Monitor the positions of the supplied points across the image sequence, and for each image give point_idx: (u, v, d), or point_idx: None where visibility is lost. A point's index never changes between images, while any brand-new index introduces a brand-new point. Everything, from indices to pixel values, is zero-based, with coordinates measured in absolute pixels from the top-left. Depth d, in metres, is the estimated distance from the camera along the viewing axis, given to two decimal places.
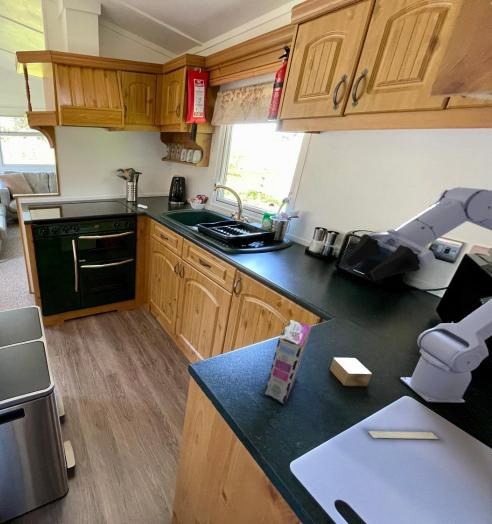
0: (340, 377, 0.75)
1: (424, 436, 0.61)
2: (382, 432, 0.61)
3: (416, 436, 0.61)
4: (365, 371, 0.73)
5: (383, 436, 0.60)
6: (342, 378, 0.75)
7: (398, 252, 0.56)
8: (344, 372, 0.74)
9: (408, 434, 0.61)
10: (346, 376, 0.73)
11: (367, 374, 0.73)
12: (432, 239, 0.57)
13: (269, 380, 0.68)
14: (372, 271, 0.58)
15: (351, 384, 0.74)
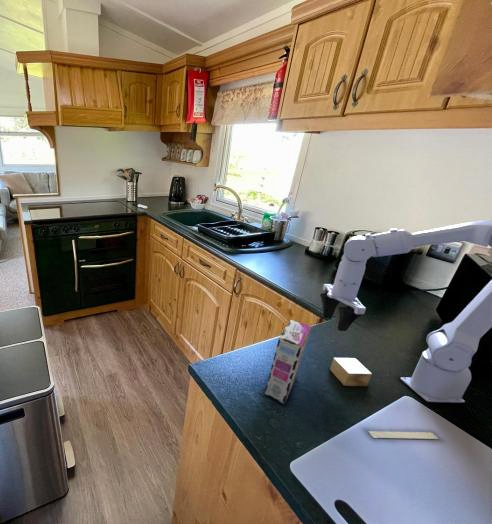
0: (340, 377, 0.75)
1: (424, 436, 0.61)
2: (382, 432, 0.61)
3: (416, 436, 0.61)
4: (365, 371, 0.73)
5: (383, 436, 0.60)
6: (342, 378, 0.75)
7: (341, 313, 0.77)
8: (344, 372, 0.74)
9: (408, 434, 0.61)
10: (346, 376, 0.73)
11: (367, 374, 0.73)
12: (357, 286, 0.76)
13: (269, 380, 0.68)
14: (338, 328, 0.79)
15: (351, 384, 0.74)
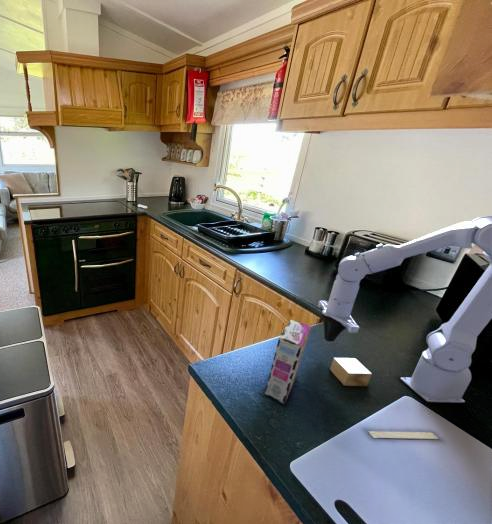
0: (340, 377, 0.75)
1: (424, 436, 0.61)
2: (382, 432, 0.61)
3: (416, 436, 0.61)
4: (365, 371, 0.73)
5: (383, 436, 0.60)
6: (342, 378, 0.75)
7: (328, 325, 0.82)
8: (344, 372, 0.74)
9: (408, 434, 0.61)
10: (346, 376, 0.73)
11: (367, 374, 0.73)
12: (351, 305, 0.78)
13: (269, 380, 0.68)
14: (326, 339, 0.84)
15: (351, 384, 0.74)
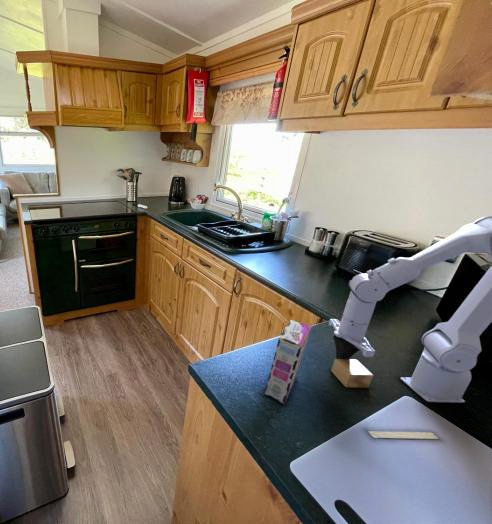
0: (341, 378, 0.75)
1: (424, 436, 0.61)
2: (382, 432, 0.61)
3: (416, 436, 0.61)
4: (367, 373, 0.73)
5: (383, 436, 0.60)
6: (343, 379, 0.74)
7: (341, 346, 0.77)
8: (345, 374, 0.74)
9: (408, 434, 0.61)
10: (347, 377, 0.73)
11: (368, 375, 0.72)
12: (366, 326, 0.73)
13: (269, 380, 0.68)
14: None
15: (352, 386, 0.73)
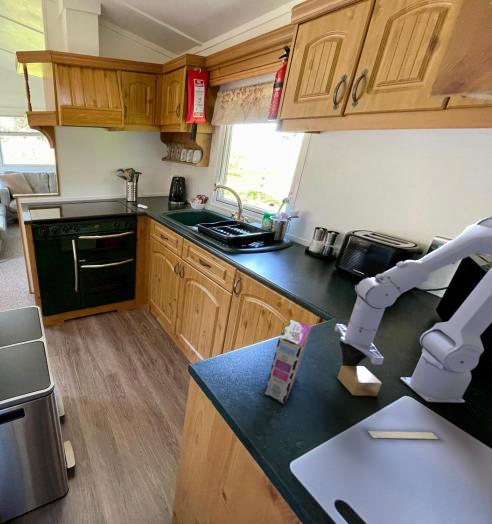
0: (348, 386, 0.72)
1: (424, 436, 0.61)
2: (382, 432, 0.61)
3: (416, 436, 0.61)
4: (375, 381, 0.70)
5: (383, 436, 0.60)
6: (350, 387, 0.72)
7: (348, 353, 0.74)
8: (353, 382, 0.71)
9: (408, 434, 0.61)
10: (355, 385, 0.70)
11: (377, 383, 0.70)
12: (374, 332, 0.70)
13: (269, 380, 0.68)
14: None
15: (360, 394, 0.71)
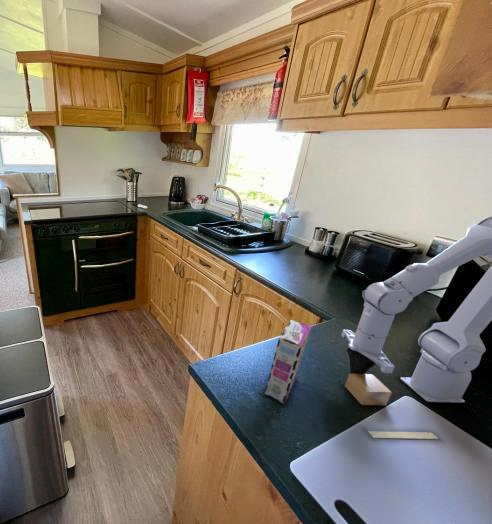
0: (357, 395, 0.70)
1: (424, 436, 0.61)
2: (382, 432, 0.61)
3: (416, 436, 0.61)
4: (385, 390, 0.68)
5: (383, 436, 0.60)
6: (359, 396, 0.69)
7: (356, 360, 0.71)
8: (361, 391, 0.68)
9: (408, 434, 0.61)
10: (363, 394, 0.68)
11: (386, 392, 0.67)
12: (383, 339, 0.67)
13: (269, 380, 0.68)
14: None
15: (369, 403, 0.68)
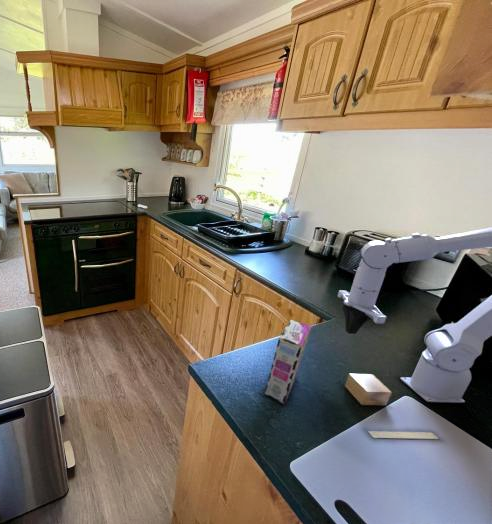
0: (357, 395, 0.70)
1: (424, 436, 0.61)
2: (382, 432, 0.61)
3: (416, 436, 0.61)
4: (385, 390, 0.68)
5: (383, 436, 0.60)
6: (359, 396, 0.69)
7: (351, 315, 0.76)
8: (361, 391, 0.68)
9: (408, 434, 0.61)
10: (364, 394, 0.68)
11: (386, 392, 0.67)
12: (376, 293, 0.72)
13: (269, 380, 0.68)
14: (347, 331, 0.79)
15: (369, 403, 0.68)
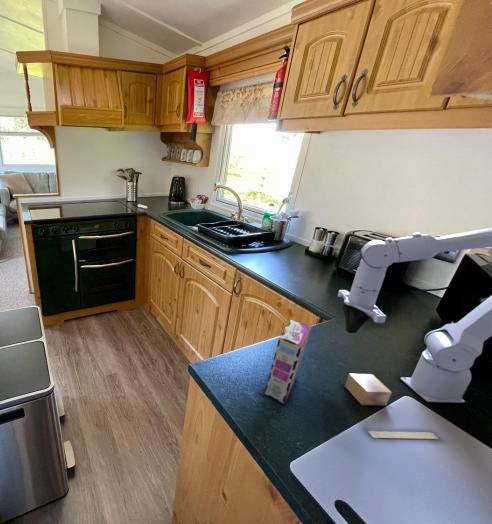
0: (357, 395, 0.70)
1: (424, 436, 0.61)
2: (382, 432, 0.61)
3: (416, 436, 0.61)
4: (385, 390, 0.68)
5: (383, 436, 0.60)
6: (359, 396, 0.69)
7: (351, 315, 0.76)
8: (361, 391, 0.68)
9: (408, 434, 0.61)
10: (364, 394, 0.68)
11: (386, 392, 0.67)
12: (376, 293, 0.72)
13: (269, 380, 0.68)
14: (347, 330, 0.79)
15: (369, 403, 0.68)
